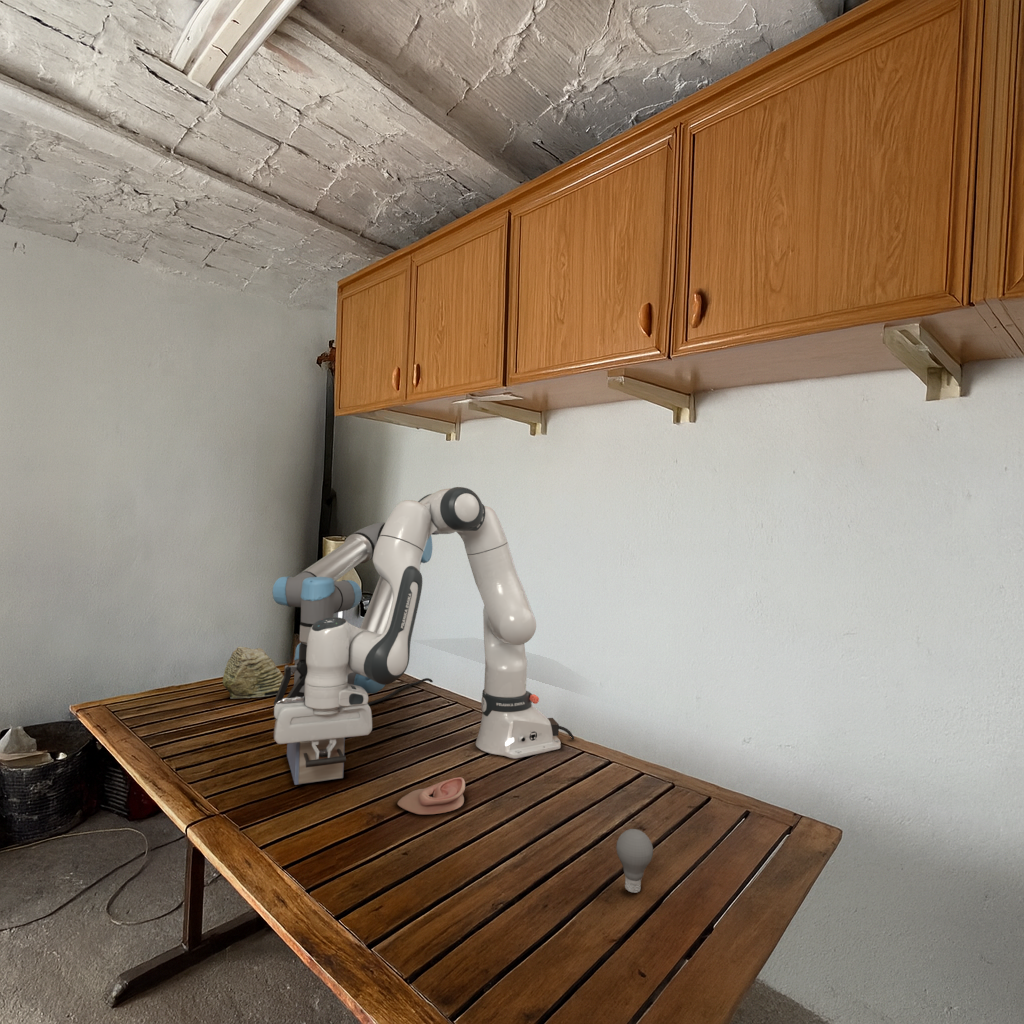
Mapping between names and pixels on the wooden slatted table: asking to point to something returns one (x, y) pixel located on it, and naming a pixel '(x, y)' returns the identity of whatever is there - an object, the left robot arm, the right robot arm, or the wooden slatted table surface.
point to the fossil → (251, 674)
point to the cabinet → (297, 760)
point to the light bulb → (634, 857)
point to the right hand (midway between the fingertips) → (322, 758)
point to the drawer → (320, 762)
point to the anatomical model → (435, 798)
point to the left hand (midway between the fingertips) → (312, 733)
